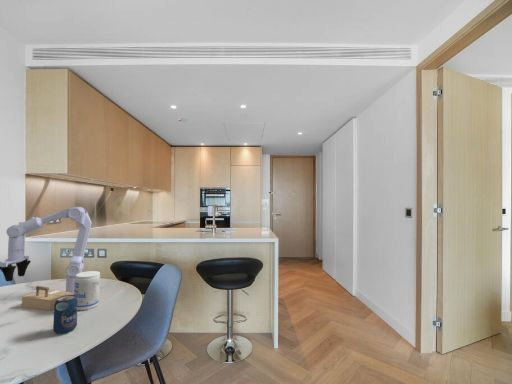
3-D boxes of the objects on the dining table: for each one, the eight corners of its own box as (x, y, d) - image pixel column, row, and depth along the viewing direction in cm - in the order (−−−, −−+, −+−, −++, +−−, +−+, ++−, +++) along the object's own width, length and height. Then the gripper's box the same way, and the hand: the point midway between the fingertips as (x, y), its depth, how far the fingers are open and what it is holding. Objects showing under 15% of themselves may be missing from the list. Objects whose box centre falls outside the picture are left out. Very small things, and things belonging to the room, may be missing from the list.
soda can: (64, 336, 89) (65, 301, 90) (47, 334, 90) (49, 300, 91) (81, 327, 96) (82, 294, 96) (65, 325, 97) (66, 293, 98)
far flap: (50, 301, 110) (50, 290, 110) (22, 297, 114) (22, 286, 114) (61, 297, 115) (61, 286, 115) (34, 293, 118) (34, 283, 119)
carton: (45, 298, 123) (45, 288, 123) (71, 301, 119) (72, 292, 120) (21, 306, 114) (22, 296, 114) (49, 310, 110) (50, 300, 110)
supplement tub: (68, 311, 109) (69, 276, 110) (82, 302, 119) (83, 270, 119) (91, 311, 110) (92, 276, 110) (103, 302, 119) (104, 270, 120)
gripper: (18, 247, 129) (17, 274, 128) (-7, 253, 114) (-8, 283, 114) (34, 246, 130) (33, 273, 129) (11, 252, 116) (10, 283, 115)
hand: (15, 278), depth 122 cm, fingers open, 7 cm apart
